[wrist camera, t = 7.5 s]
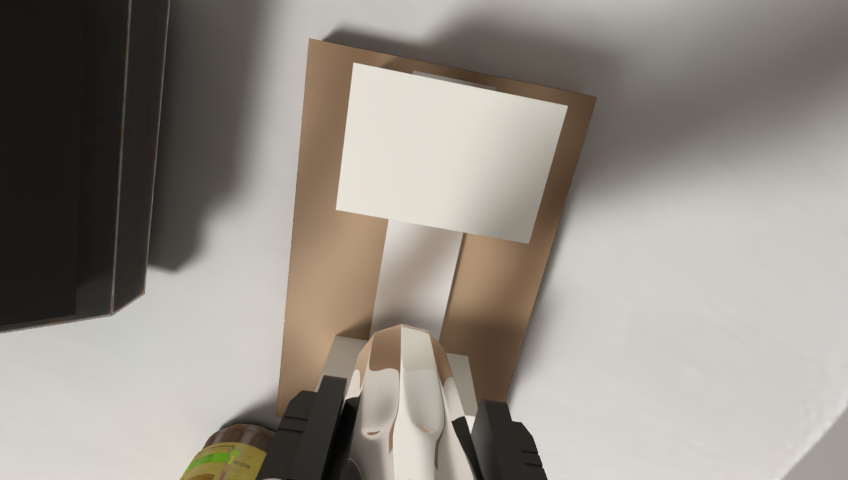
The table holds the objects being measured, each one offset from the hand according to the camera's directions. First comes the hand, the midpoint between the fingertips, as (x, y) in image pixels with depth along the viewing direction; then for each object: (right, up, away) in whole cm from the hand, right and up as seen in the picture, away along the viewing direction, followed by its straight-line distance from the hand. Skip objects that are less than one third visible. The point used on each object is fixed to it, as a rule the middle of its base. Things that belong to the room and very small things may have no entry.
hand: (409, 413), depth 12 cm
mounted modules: (0, +3, +10) cm, 11 cm away
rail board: (0, +4, +12) cm, 12 cm away
